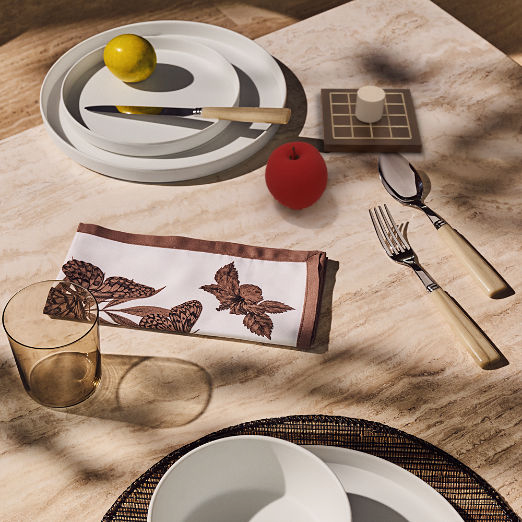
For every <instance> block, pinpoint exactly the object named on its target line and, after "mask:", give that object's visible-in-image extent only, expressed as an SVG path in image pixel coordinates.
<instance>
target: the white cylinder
mask: <svg viewBox="0 0 522 522" xmlns="http://www.w3.org/2000/svg"><path fill="white" fill-rule="evenodd" d="M358 89H359V90H358V91H357V99H356V108H355V116H356V118H357V119H359V120H360V121H363V122H367V123H372V122H377V121H379V120H380V119H381V118H382V114H383V107H384V101H385V92H384V90H383V89H384V88H381V87H379V86H376V85H364V86H361V87H360V88H358Z"/></svg>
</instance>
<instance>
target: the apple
mask: <svg viewBox="0 0 522 522" xmlns="http://www.w3.org/2000/svg"><path fill="white" fill-rule="evenodd" d="M328 173H329V172H328V166H327V163H326V161H325V159H324V157H323V155H322V153H321V152H320V151H319V149H318V148H316V146H314V145H312V144H311V143H309V142H304V141H291V142H287V143H284V144H281V145H279V146H278V147H276V148H274V149H273V151H272V152H271V154H270V155H269V157H268V159H267V162H266V165H265V171H264V181H265V185H266V188H267V190H268V192H269V193H270V195H271V196H272V197H273V198H274V199H275V200H276V201H277V202H278V203H279V204H280V205H282V206H283V207H285V208H288V209H290V210H293V211H301V210H304V209H309V208H310V207H312V206H314V205H315V204H316V203H317V202H318V201H319V200H320V198H322V196H323V195H324V193H325V191H326V189H327V186H328V180H329V174H328Z"/></svg>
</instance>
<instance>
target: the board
mask: <svg viewBox="0 0 522 522" xmlns="http://www.w3.org/2000/svg"><path fill="white" fill-rule="evenodd" d="M359 89H360V88H320V109H321V110H320V111H321V127H322V128H321V129H322V141H323V144H322V145H323V152H324V153H421V152H422V147H423V143H422V139H421V135H420V134H421V133H420V130H419V123H418V119H417V115H416V110H415V106H414V101H413V95H412V92H411V88H382V89H383V90H384V92H385V101H384V107H383V114H382V118H381V119H380V120H379V121H377V122H372V123H367V122H363V121H360V120H359V119H357V118H356V116H355V108H356V99H357V91H358V90H359Z"/></svg>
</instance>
